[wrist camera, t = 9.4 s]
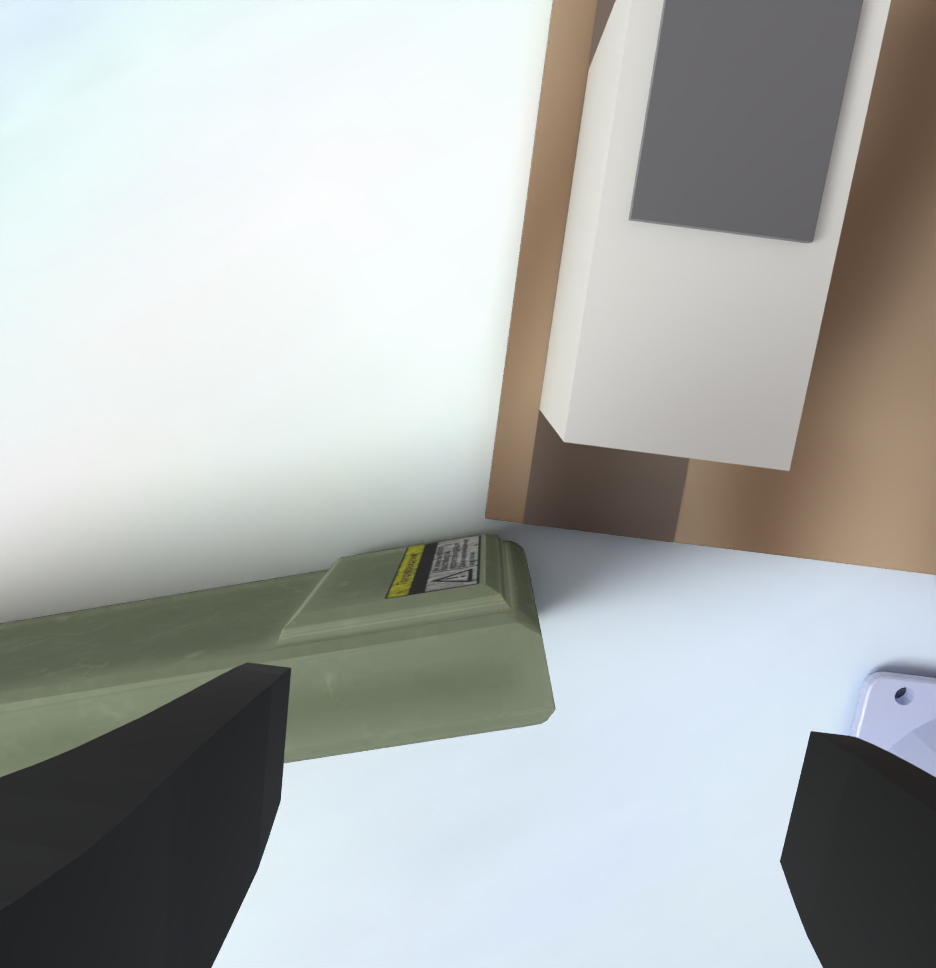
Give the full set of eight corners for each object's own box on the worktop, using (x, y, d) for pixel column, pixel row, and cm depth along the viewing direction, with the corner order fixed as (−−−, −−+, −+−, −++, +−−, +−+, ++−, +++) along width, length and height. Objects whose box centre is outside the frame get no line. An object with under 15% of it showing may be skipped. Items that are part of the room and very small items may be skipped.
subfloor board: (1236, 22, 17) (1264, 11, 17) (1068, 586, 20) (1087, 594, 20) (561, -64, 17) (563, -78, 17) (485, 513, 20) (485, 518, 19)
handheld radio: (539, 631, 21) (-280, 761, 22) (520, 519, 21) (-316, 658, 22) (562, 751, 14) (-602, 925, 16) (535, 591, 14) (-663, 783, 15)
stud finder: (758, 91, 17) (905, -40, 11) (694, 429, 19) (794, 473, 13) (588, 70, 17) (645, -75, 11) (539, 408, 19) (565, 443, 13)
